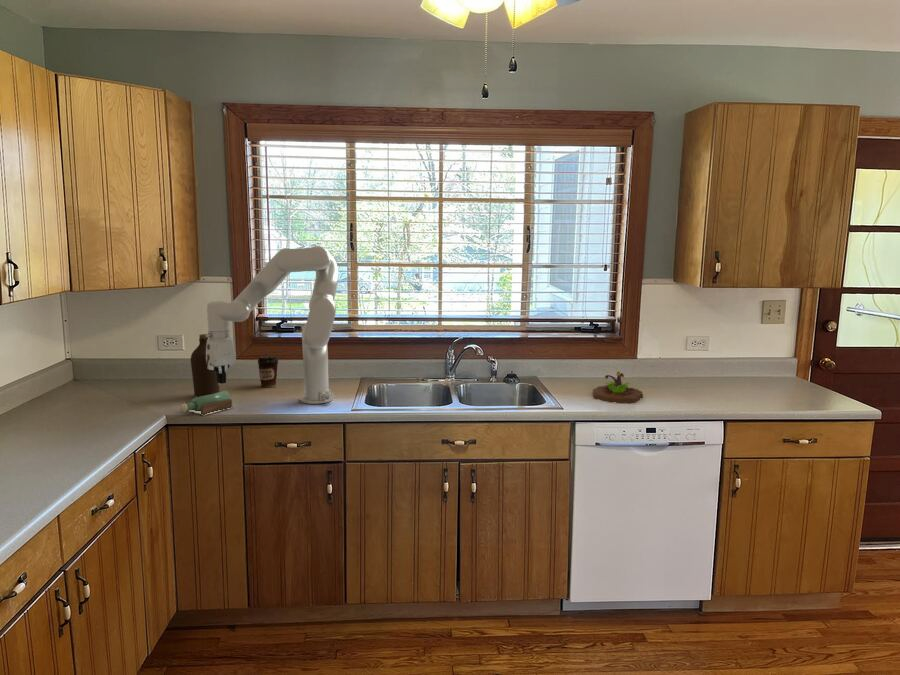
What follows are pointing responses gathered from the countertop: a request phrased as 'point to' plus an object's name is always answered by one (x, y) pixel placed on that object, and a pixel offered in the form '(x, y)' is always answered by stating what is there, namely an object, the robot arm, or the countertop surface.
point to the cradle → (215, 406)
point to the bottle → (204, 401)
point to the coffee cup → (268, 370)
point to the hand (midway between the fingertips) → (221, 382)
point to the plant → (617, 391)
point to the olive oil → (203, 371)
